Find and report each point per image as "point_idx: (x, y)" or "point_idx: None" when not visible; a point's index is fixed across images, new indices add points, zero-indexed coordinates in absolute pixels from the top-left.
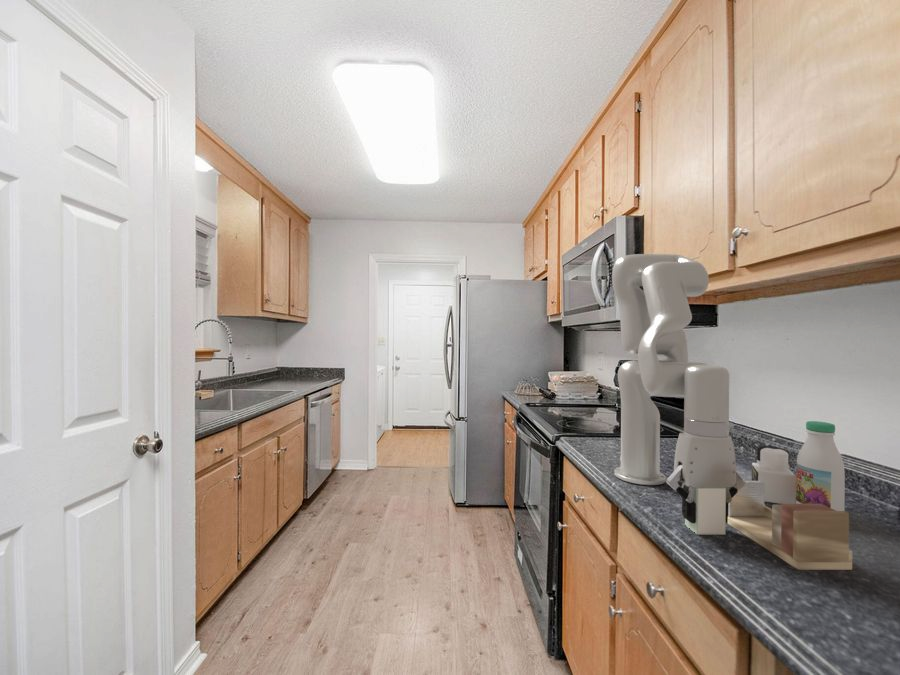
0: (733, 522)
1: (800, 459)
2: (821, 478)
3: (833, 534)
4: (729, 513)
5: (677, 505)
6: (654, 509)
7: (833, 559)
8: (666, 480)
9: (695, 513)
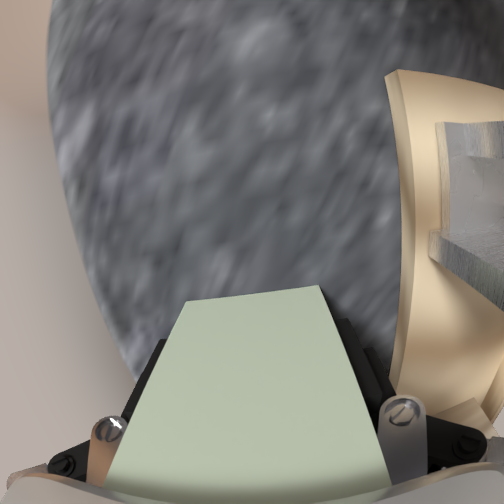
0: (409, 299)
1: None
2: None
3: None
4: (436, 260)
5: (246, 43)
6: (99, 134)
7: None
8: (9, 484)
9: None
